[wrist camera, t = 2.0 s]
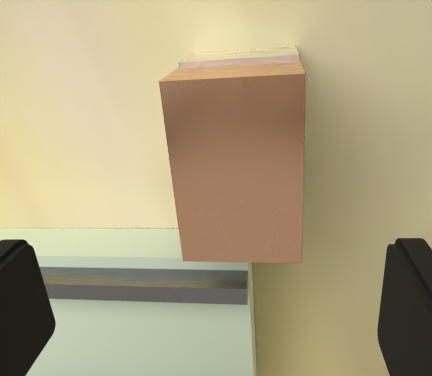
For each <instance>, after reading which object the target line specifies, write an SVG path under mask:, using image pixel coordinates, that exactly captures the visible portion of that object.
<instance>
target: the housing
mask: <svg viewBox="0 0 432 376" xmlns="http://www.w3.org/2000/svg"><path fill="white" fill-rule="evenodd" d="M305 77H306V73H305V71H304V69H303V67H302V64H301V62H300V60H299V53H298V51H297V49H296V47H283V48H268V49H252V50H237V51H222V52H206V53H192V54H190V55H189V56H187V57H186V58H184V59H183V60H181V61H180V62H179V68H177V69H176V70H174V71H173V72H172V73H170V74H169V75H167V76H166V77H165V78H163V79H162V80H160V81H159V85H160V92H161V100H162V107H163V115H164V123H165V130H166V138H167V145H168V153H169V160H170V168H171V175H172V183H173V190H174V198H175V205H176V213H177V220H178V228H179V235H180V243H181V250H182V258H183V261H184V262H252V263H302V227H303V177H304V127H305Z"/></svg>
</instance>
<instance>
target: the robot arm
mask: <svg viewBox="0 0 432 376" xmlns="http://www.w3.org/2000/svg"><path fill="white" fill-rule="evenodd" d="M55 326H56V322H55V318H54V314H53V311H52V308H51V304H50V301H49V298H48V294H47V291H46V287H45V284H44V281H43V277H42V274H41V271H40V267H39V264H38V261H37V257H36V254H35V250H34V248H33V247H32V245H29V244H28V242H27V241H26V240H23V239H5V240H1V241H0V376H26V374H27V373H28V371H29V370H30V368H31V367H32V365H33V364H34V362H35V361H36V359H37V358H38V356H39V355H40V353H41V352H42V350H43V349H44V347H45V346H46V344H47V343H48V341H49V340H50V338H51V337H52V335H53V333H54V331H55ZM378 341H379V345H380V348H381V351H382V354H383V357H384V360H385V363H386V366H387V368H388V371H389V374H390V376H432V250H431V248H430V247H429V245H428V244H427V242H426V241H425V240H424V239H422V238H398V239H397V240H396V242H395V244H389V245H388V247H387V253H386V262H385V270H384V279H383V288H382V296H381V305H380V313H379V322H378Z"/></svg>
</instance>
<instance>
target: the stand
mask: <svg viewBox="0 0 432 376" xmlns="http://www.w3.org/2000/svg"><path fill="white" fill-rule="evenodd" d="M5 239H23V240H26V241H27V242H28V244H29V245H32V247H33V248H34V250H35V254H36V257H37V261H38V264H39V267H40V271H41V274H42V277H43V281H44V284H45V287H46V291H47V294H48V298H49V301H50V304H51V308H52V311H53V314H54V318H55V322H56V326H55V331H54V333H53V335H52V337H51V338H50V340H49V341H48V343H47V344H46V346H45V347H44V349H43V350H42V352H41V353H40V355H39V356H38V358H37V359H36V361H35V362H34V364H33V365H32V367H31V368H30V370H29V371H28V373H27V374H26V376H257V364H256V341H255V318H254V296H253V273H252V262H184V261H183V258H182V250H181V243H180V235H179V229H103V228H0V241H1V240H5Z"/></svg>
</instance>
